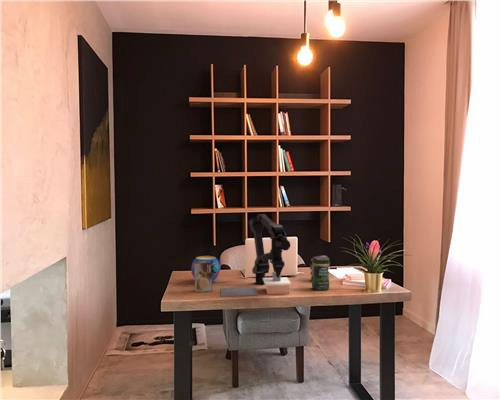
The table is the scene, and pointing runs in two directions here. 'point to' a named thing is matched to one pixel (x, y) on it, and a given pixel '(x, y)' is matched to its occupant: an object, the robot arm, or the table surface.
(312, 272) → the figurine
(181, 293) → the table surface
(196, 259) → the ceramic pot
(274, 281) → the lid
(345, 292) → the table surface
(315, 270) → the coffee jar
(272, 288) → the open box
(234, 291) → the mat
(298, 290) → the table surface
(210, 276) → the coffee box
